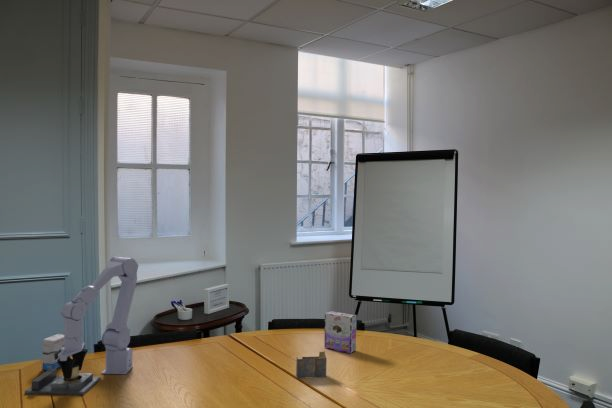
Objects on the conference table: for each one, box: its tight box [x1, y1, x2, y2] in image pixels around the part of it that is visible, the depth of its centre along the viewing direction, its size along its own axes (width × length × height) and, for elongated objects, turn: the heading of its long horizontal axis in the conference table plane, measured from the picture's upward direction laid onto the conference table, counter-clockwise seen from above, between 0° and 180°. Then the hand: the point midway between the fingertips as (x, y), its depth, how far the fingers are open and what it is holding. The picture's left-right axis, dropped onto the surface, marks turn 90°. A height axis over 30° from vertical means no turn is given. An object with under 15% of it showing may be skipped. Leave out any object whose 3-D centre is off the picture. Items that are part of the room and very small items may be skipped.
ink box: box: [41, 333, 64, 371], centre depth 190 cm, size 8×5×12 cm, turn 168°
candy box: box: [323, 310, 358, 354], centre depth 218 cm, size 14×6×16 cm, turn 58°
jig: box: [24, 368, 101, 396], centre depth 171 cm, size 20×14×4 cm
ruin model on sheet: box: [295, 350, 328, 379], centre depth 186 cm, size 11×3×10 cm, turn 98°
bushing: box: [65, 365, 80, 381], centre depth 171 cm, size 4×4×6 cm
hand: (72, 374), depth 171 cm, fingers open, 7 cm apart
